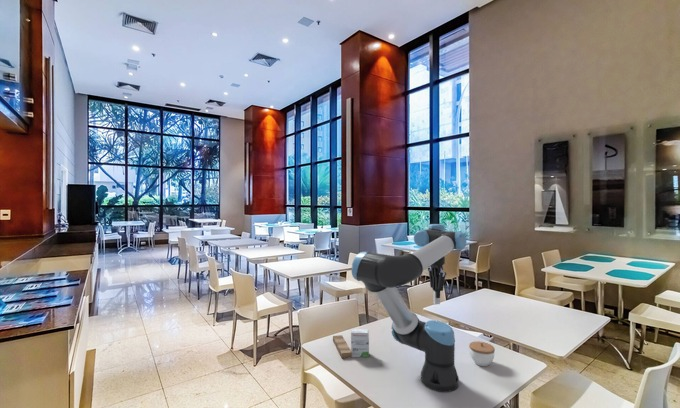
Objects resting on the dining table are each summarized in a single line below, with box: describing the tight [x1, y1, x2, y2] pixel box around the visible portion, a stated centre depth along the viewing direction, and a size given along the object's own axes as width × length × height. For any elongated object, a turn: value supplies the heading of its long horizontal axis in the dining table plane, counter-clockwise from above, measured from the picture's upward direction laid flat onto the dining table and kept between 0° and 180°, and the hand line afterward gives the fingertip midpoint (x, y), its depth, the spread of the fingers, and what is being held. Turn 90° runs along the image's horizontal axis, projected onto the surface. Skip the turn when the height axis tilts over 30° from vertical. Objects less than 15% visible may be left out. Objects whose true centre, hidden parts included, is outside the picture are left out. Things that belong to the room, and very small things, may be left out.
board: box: [332, 334, 353, 360], centre depth 162 cm, size 20×5×2 cm, turn 13°
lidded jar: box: [468, 340, 496, 367], centre depth 148 cm, size 11×11×9 cm
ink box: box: [350, 328, 370, 358], centre depth 156 cm, size 9×5×12 cm, turn 85°
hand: (436, 303), depth 157 cm, fingers closed
